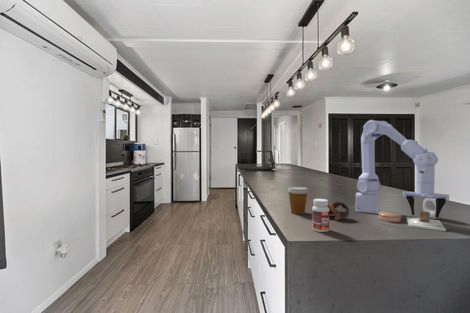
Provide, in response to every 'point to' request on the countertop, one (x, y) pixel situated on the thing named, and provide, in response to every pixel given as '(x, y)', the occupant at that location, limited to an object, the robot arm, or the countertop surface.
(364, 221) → the countertop surface
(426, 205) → the white tape roll
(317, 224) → the pill bottle
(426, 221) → the lid
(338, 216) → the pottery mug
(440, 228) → the mat
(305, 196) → the disposable coffee cup
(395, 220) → the orange round disc
